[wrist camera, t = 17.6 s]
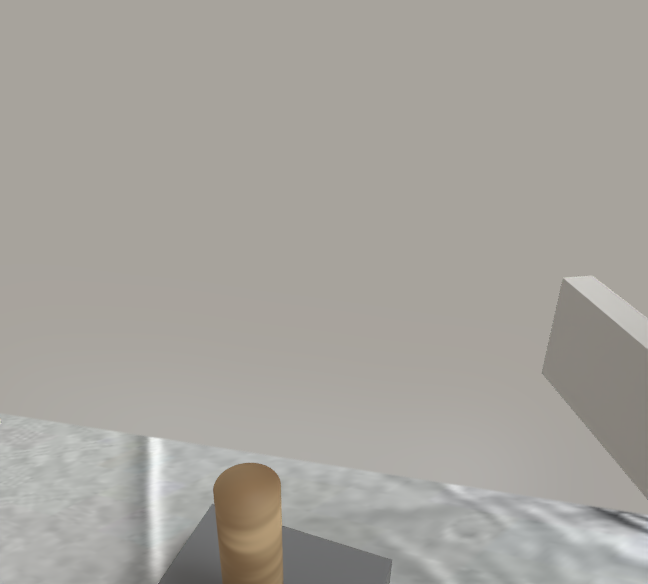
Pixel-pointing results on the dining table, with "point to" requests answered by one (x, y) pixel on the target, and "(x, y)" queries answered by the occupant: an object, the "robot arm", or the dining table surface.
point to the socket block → (298, 559)
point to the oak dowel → (249, 524)
